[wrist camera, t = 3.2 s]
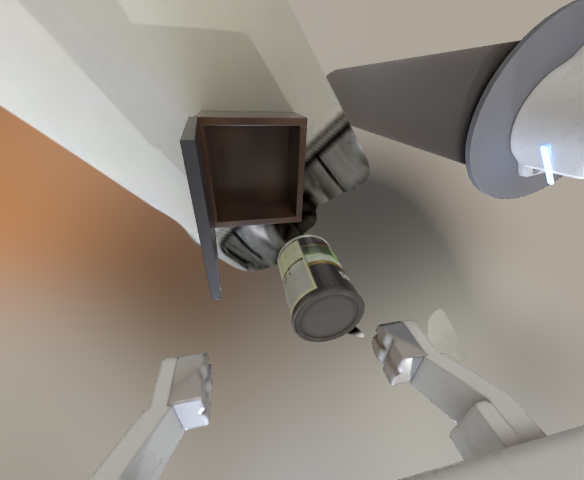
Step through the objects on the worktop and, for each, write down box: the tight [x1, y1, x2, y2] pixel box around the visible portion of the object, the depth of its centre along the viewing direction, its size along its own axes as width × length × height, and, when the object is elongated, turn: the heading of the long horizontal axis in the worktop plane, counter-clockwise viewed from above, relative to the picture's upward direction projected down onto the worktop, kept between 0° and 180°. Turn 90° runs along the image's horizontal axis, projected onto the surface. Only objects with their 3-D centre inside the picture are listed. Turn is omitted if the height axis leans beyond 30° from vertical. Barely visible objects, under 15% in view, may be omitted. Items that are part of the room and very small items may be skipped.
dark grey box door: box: [180, 117, 222, 300], centre depth 22 cm, size 12×13×1 cm
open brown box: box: [194, 111, 307, 228], centre depth 31 cm, size 12×13×7 cm
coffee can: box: [277, 235, 365, 342], centre depth 39 cm, size 10×10×14 cm
